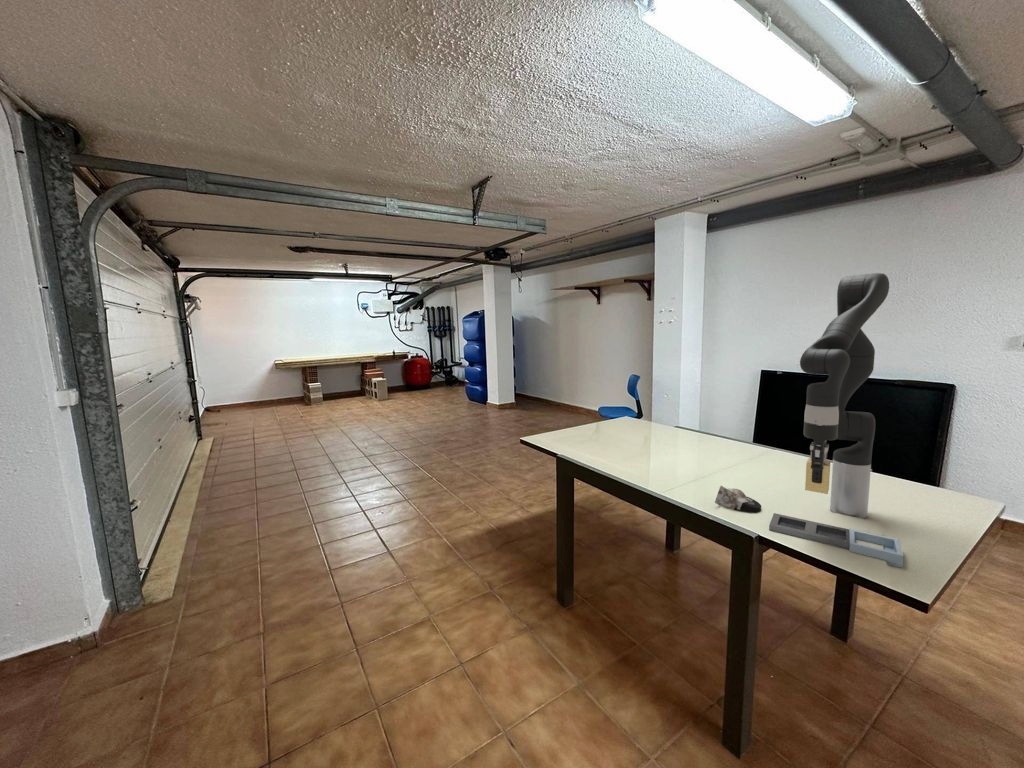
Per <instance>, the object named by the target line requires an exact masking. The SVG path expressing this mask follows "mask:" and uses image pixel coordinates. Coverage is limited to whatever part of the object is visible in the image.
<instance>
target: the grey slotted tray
mask: <svg viewBox="0 0 1024 768" xmlns="http://www.w3.org/2000/svg"><path fill="white" fill-rule="evenodd" d="M768 526H769V527H768V530H769V531H770V532H776V533H780V534H784V535H788V536H792V537H795V538H796V537H797V538H799V539H800V538H801V539H804V540H805V539H806V540H809V541H813V542H816V543H821V544H826V545H829V546H833V547H837V548H840V549H841V548H842V549H847V550H849V547H850V536H849V529H850V528H849V529H848V528H845V527H841V526H835V525H831V524H826V523H823V522H818V521H813V520H808V519H803V518H799V517H794V516H789V515H785V514H784V515H783V514H780V513H776V512H774V513H773V514H772V517H771V520H770V523H769V525H768Z"/></svg>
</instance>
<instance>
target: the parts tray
mask: <svg viewBox="0 0 1024 768" xmlns="http://www.w3.org/2000/svg"><path fill="white" fill-rule="evenodd" d="M849 536H850V547H849V549H848V550H849V552H853V553H856V554H860V555H863V556H869V557H872V558H877V559H880V560H885V561H886V564H887V565H888V566H889V565H890V566H894V567H898V568H903V563H904V554H903V550H902V545H901V542H900V538H899V539H898V538H896V537H895V538H894V537H889V536H885V535H879V534H876V533H871V532H865V531H861V530H858V529H857V530H856V529H851V528H849ZM856 540H860V541H863V542H868V543H872V544H876V545H881V546H882V547H883V549H882V548H877V547H874V546H870V545H866V544H865V545H864V544H860V543H857V542H856Z"/></svg>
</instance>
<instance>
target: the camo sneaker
mask: <svg viewBox="0 0 1024 768" xmlns="http://www.w3.org/2000/svg"><path fill="white" fill-rule="evenodd" d="M714 503H715V504H716V505H718V506H719V507H723V508H726V509H728V510H729V509H730V510H731V511H735V509H736V510H739V511H743V512H745V513H749V514H750V513H751V514H752V513H753V514H754V513H758V512H759V513H760V511H761V509H762V505H761V503H760V502H759V501H758V500H755V499H753V498H751V497H750V496H747V495H746V494H745V493H744V491H742V490H741V489H738V488H734V487H733V488H727V487H724V486H723V485H720V487H719V489H718V491H717V495H716V497H715V501H714Z"/></svg>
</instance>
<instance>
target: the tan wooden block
mask: <svg viewBox="0 0 1024 768" xmlns="http://www.w3.org/2000/svg"><path fill="white" fill-rule="evenodd" d="M814 465H819V466H820V463H818V462H815V464H814ZM805 468H806V469H805V483H804V491H807V492H808V491H809V492H814V493H820V494H824V495H828V493H829V490H830V479H831V478H830V477H831V476H830V475H831V460H830V461H829V460H826V462H825V463H824V464H823V468H824V470H823V472H822V483H821V484H819V483H813V482H812V469H811V459H810V457H809V458H807V461H806V466H805Z"/></svg>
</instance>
